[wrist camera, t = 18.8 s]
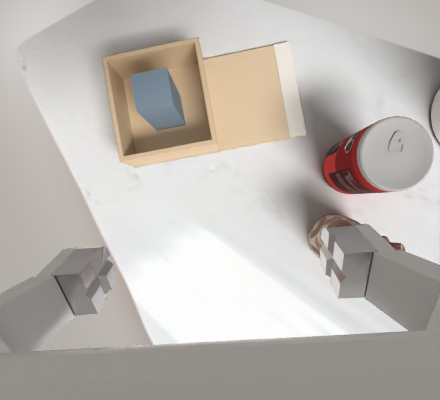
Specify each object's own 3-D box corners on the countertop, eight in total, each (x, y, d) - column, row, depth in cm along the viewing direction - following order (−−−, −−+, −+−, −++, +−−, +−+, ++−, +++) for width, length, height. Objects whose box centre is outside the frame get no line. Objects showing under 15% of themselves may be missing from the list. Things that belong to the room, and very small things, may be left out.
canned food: (370, 138, 36) (430, 111, 25) (376, 191, 36) (439, 187, 25) (318, 144, 37) (355, 119, 26) (324, 197, 37) (364, 195, 26)
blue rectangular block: (180, 96, 37) (166, 67, 29) (185, 125, 37) (173, 104, 29) (151, 101, 37) (130, 74, 29) (156, 130, 37) (136, 111, 29)
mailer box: (288, 43, 37) (298, 16, 31) (305, 135, 37) (318, 123, 31) (120, 78, 38) (101, 57, 33) (136, 167, 38) (119, 161, 32)
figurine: (303, 219, 37) (339, 228, 25) (351, 210, 36) (410, 214, 24) (313, 266, 37) (354, 297, 25) (361, 257, 36) (425, 284, 24)
